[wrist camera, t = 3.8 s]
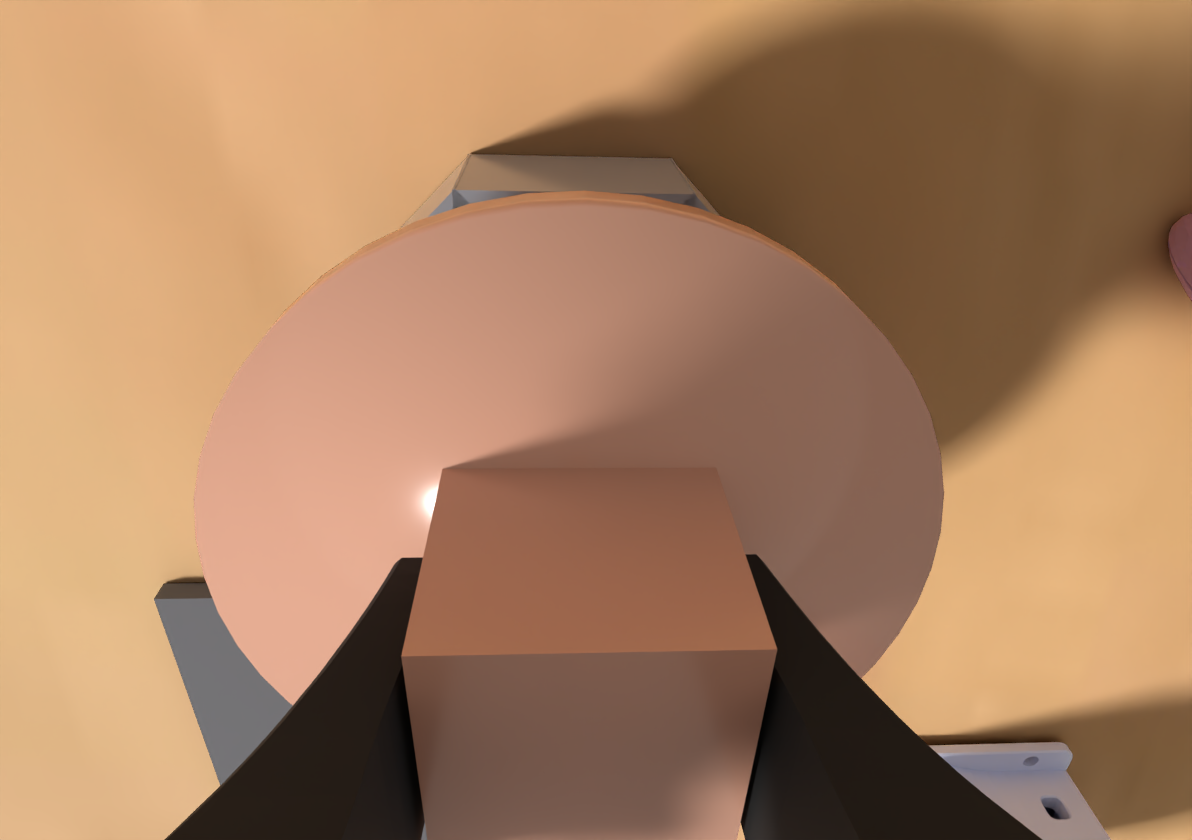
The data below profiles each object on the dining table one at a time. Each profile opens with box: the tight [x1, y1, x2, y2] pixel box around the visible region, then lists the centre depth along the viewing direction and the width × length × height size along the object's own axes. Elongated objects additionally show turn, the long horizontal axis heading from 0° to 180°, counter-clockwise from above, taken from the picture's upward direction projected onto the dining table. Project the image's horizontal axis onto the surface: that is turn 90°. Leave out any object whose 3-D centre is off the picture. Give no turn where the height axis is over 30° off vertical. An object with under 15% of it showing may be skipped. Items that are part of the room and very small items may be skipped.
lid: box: [194, 191, 944, 840], centre depth 11 cm, size 12×12×4 cm
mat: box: [154, 583, 427, 840], centre depth 25 cm, size 16×15×1 cm
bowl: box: [400, 153, 720, 229], centre depth 17 cm, size 10×10×3 cm
